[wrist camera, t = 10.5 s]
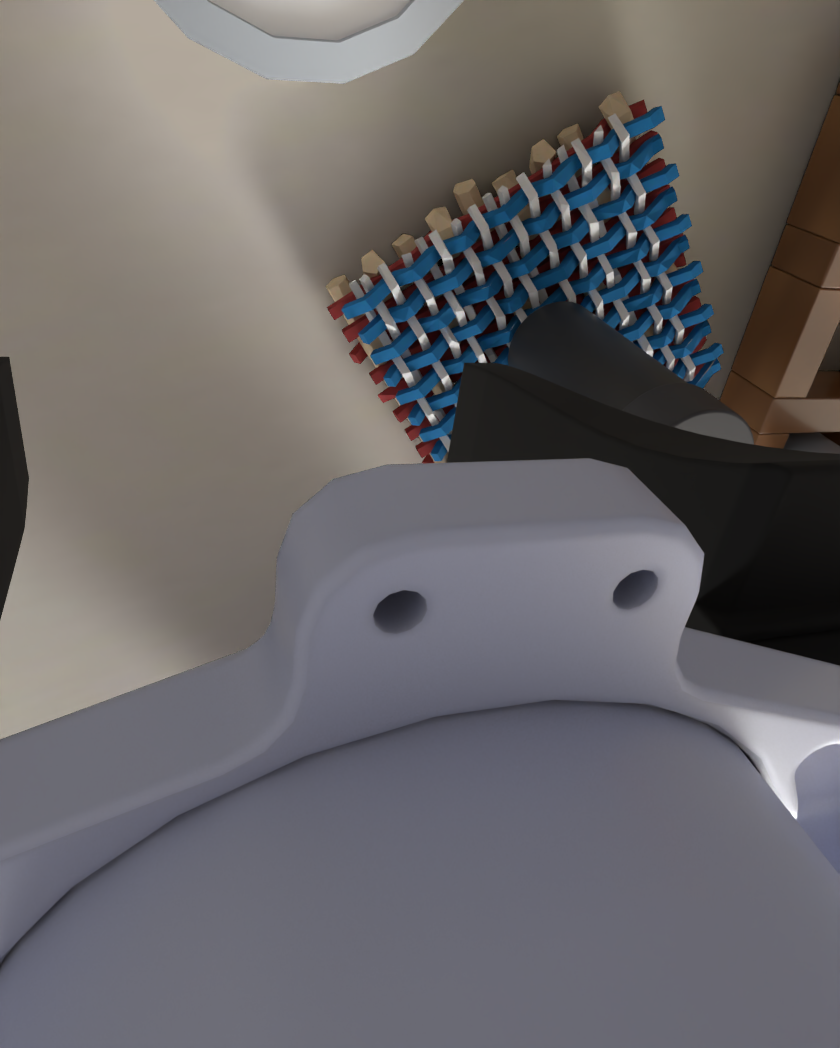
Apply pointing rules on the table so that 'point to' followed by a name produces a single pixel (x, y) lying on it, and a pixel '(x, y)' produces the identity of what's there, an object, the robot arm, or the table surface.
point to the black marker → (616, 372)
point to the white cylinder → (310, 33)
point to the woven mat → (533, 271)
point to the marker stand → (797, 313)
